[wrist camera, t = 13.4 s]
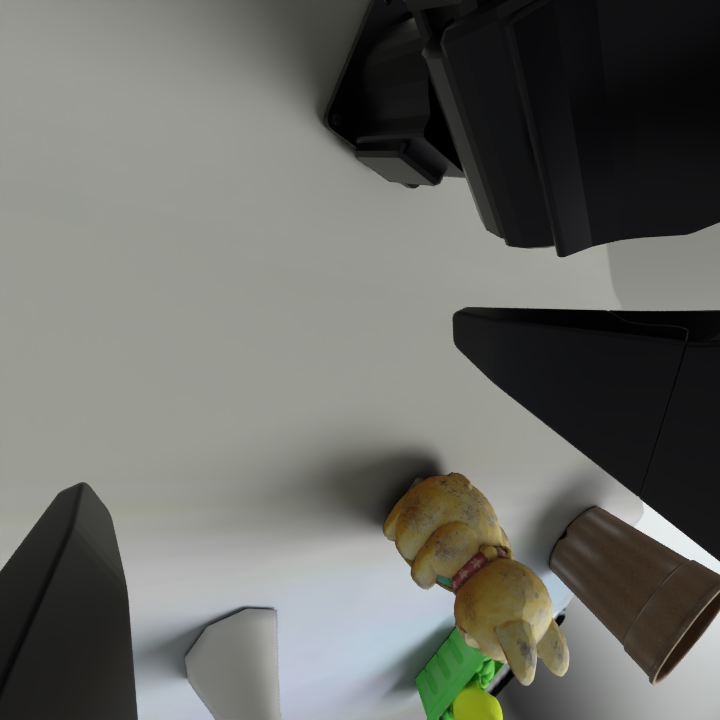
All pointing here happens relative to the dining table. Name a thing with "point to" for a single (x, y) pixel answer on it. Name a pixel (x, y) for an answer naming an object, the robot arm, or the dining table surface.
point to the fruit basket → (459, 683)
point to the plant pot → (637, 589)
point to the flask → (238, 667)
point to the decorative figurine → (477, 573)
